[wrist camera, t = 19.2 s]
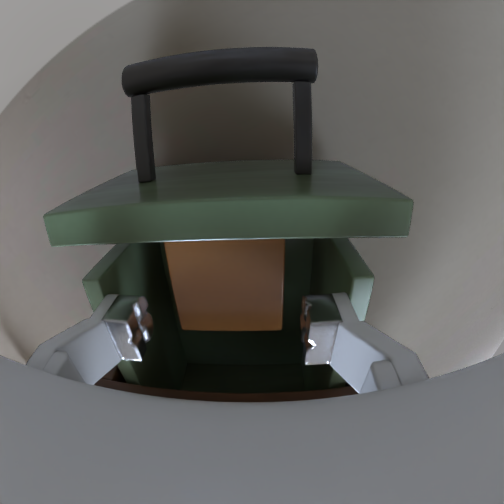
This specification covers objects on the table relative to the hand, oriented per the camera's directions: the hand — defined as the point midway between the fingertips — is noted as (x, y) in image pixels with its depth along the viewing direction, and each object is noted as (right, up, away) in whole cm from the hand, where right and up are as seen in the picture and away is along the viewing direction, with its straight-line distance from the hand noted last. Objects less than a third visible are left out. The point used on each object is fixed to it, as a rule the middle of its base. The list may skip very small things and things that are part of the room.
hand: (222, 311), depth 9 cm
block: (0, +3, +5) cm, 6 cm away
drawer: (0, +3, +7) cm, 7 cm away
